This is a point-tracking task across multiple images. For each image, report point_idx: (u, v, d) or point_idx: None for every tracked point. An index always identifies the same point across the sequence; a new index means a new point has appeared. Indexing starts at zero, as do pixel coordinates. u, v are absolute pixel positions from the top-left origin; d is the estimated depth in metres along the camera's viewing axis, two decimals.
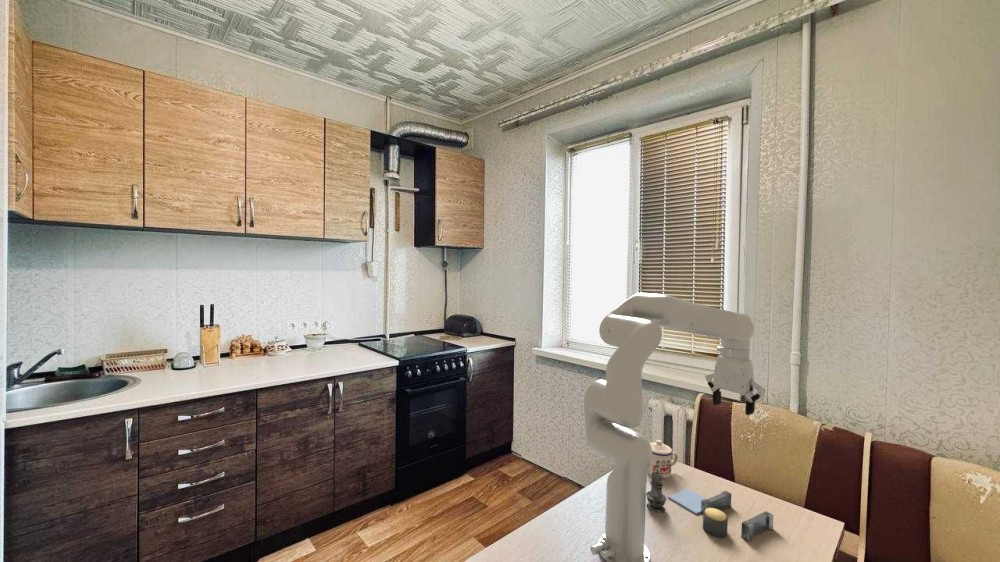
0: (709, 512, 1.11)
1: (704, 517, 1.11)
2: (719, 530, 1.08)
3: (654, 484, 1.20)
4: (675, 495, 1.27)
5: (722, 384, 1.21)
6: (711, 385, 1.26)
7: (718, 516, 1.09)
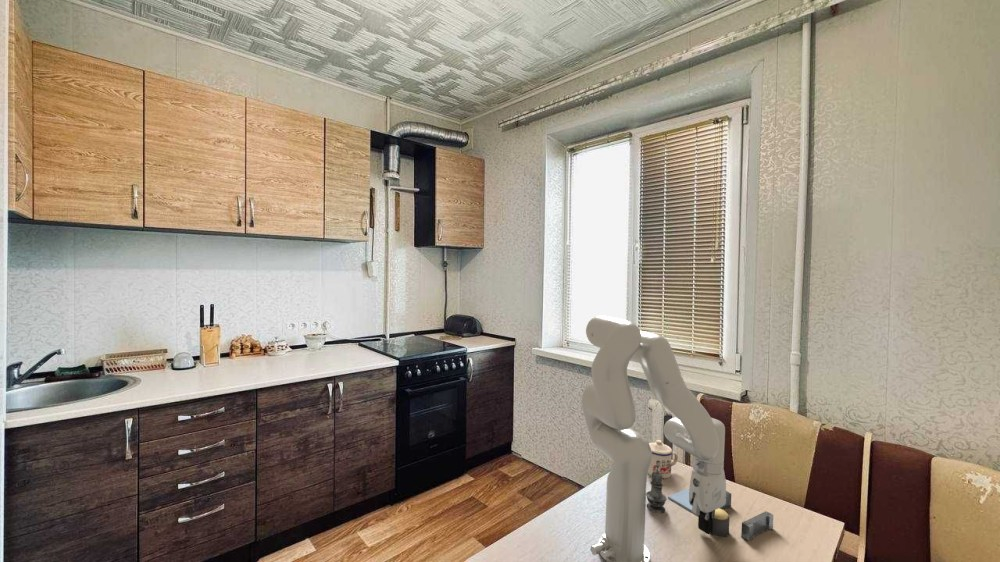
0: None
1: None
2: (721, 528, 1.08)
3: (654, 484, 1.20)
4: (675, 495, 1.27)
5: (712, 506, 1.05)
6: (704, 513, 1.07)
7: (720, 515, 1.10)
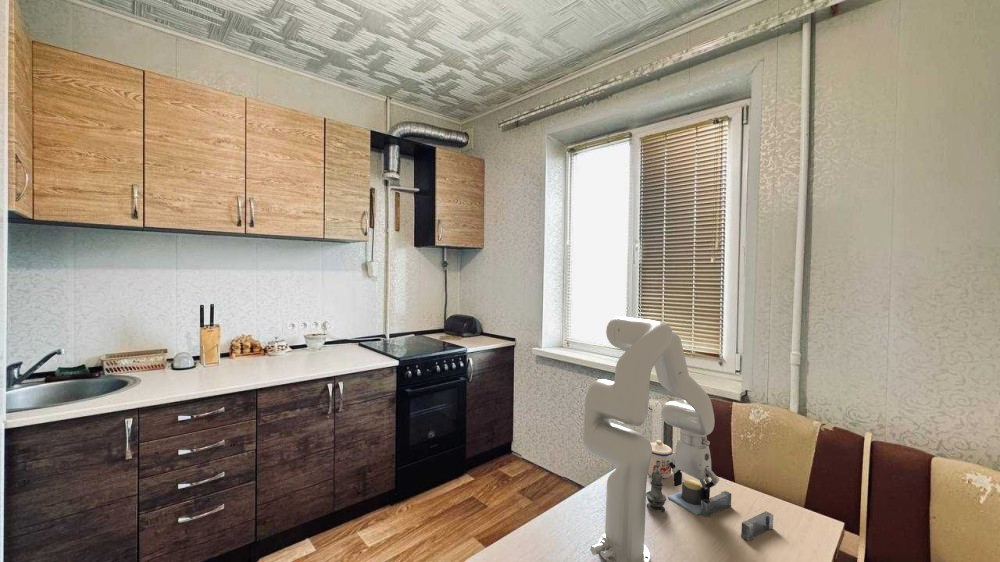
0: (687, 483, 1.25)
1: (683, 487, 1.25)
2: (696, 497, 1.22)
3: (654, 484, 1.20)
4: (675, 495, 1.27)
5: None
6: None
7: (695, 486, 1.24)
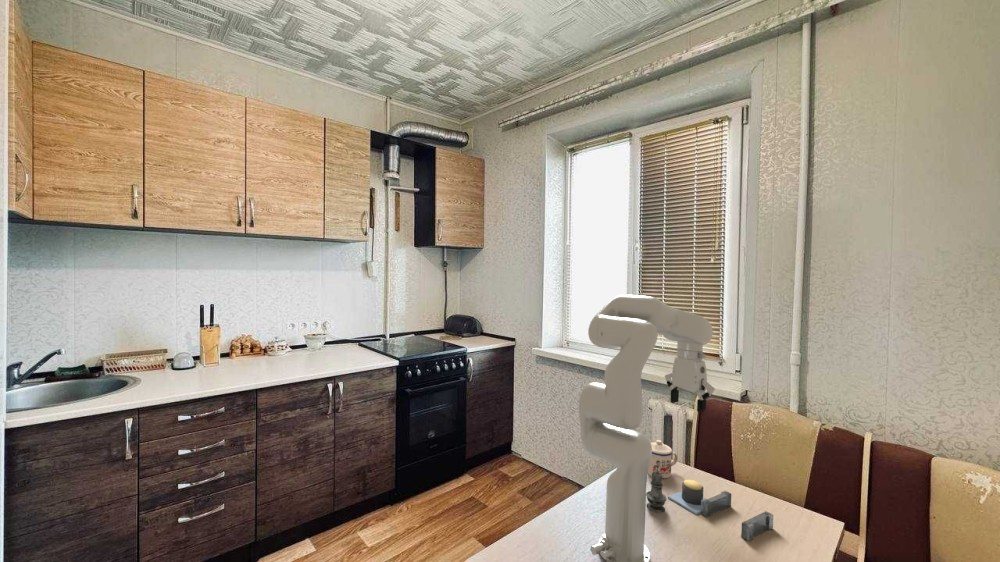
0: (687, 483, 1.25)
1: (683, 487, 1.25)
2: (696, 497, 1.22)
3: (654, 484, 1.20)
4: (675, 495, 1.27)
5: None
6: None
7: (695, 486, 1.24)
